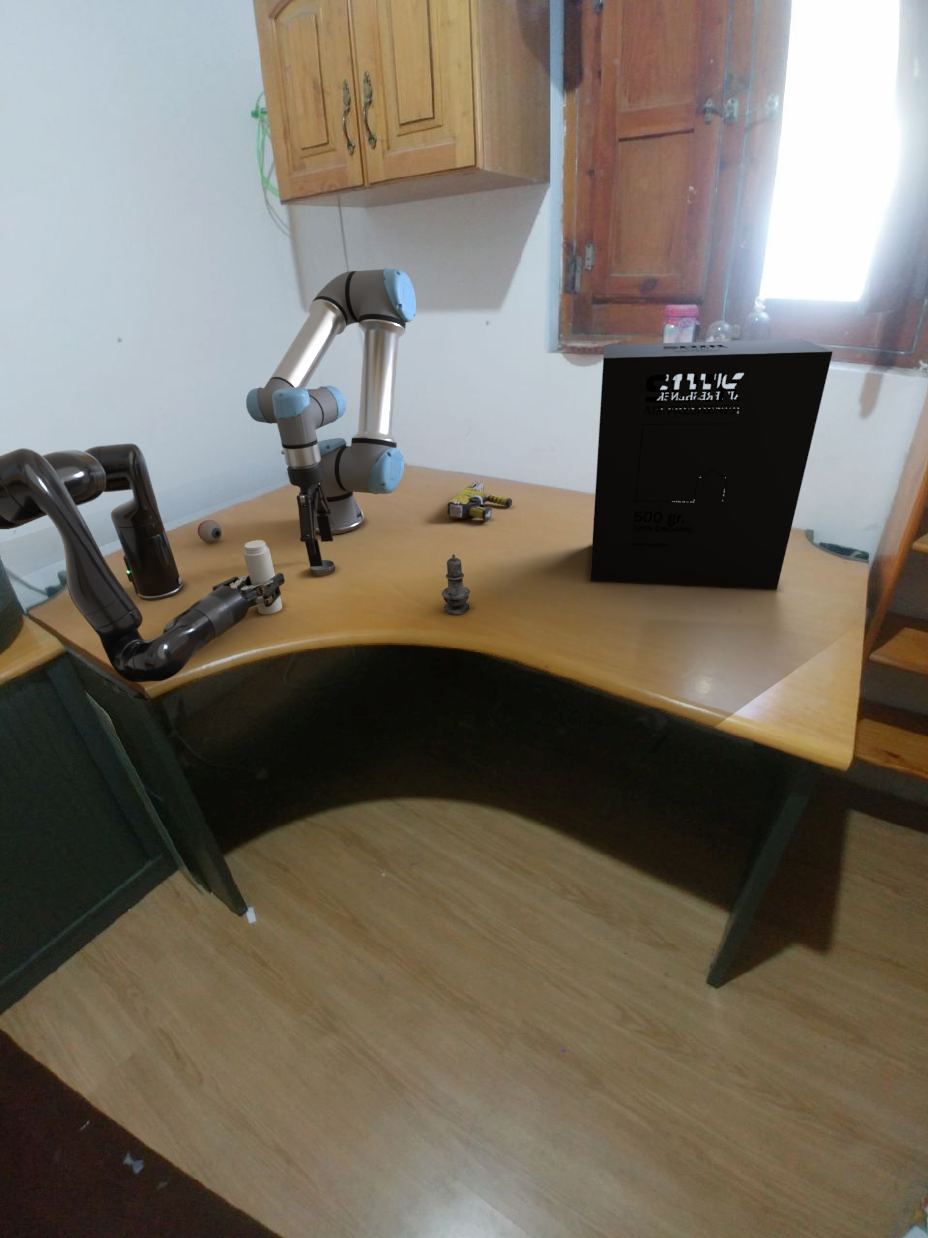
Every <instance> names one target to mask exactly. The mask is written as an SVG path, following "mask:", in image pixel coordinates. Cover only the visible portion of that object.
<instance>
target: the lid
mask: <svg viewBox="0 0 928 1238" xmlns="http://www.w3.org/2000/svg"><path fill="white" fill-rule="evenodd" d="M322 563H323V566H315V567H310V566H309V573H310V574H311V575H312V576H313V577H326V576H330V575H331V574H333V573H334V572H335V571H336V566H335V562H334V561H332V560H329V559H322Z"/></svg>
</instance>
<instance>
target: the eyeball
mask: <svg viewBox="0 0 928 1238" xmlns="http://www.w3.org/2000/svg"><path fill="white" fill-rule="evenodd" d="M222 534H223V529H222V527H221V525H220V524H219V523H218V522H217V521H215V520H212V519H207V520H204V521H202V522H201V523H200V524H199V525H198V527H197V535H198V538H199V539H201V540H202V541H203V542H205V543H208V544H213V543H216V542H218V541H219V540H220V539H221V538H222Z"/></svg>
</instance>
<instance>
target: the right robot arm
mask: <svg viewBox="0 0 928 1238" xmlns="http://www.w3.org/2000/svg"><path fill="white" fill-rule="evenodd" d="M412 283H413V282H412V281H411V279H410V277H409V275H408V274H407V273H406V272H405V271H404V270H402V269H399V268H387V267H386V268H383V269H382V268H381V269H365V270H349V271H345V272H342V273H341V274H338V275H337V276H335V277H334V278H332V279H331V280H330V281H329V282H328V283H327V284H325V286H323V288H322V289H321V290H320V291H319V292H318V293H317V295H315V297H314V299H313V300H312V302H311V303H310V305H309V308H308V313H309V315H308V317H306V320H305V321H304V323H303V324H302V326H301V328H300V329H299V331H298V332H297V334H296V336H295V338H294V339H293V341H292V342H291V344H290V345H289V347H288V349H287V350H286V352H285V354H284V355H283V357H282V358H281V360H280V362H279V363H278V365H276V368H275V370H274V371H273V373H272V375H271V376H270V378H269V379H268V381H267V382H266V384H265V386H264V387H262V386H261V387H258V388H257V387H256V388H252V389H251V390H249V392H248V394H247V395H246V399H245V406H246V407H245V408H246V410H247V413H248V414H249V416H250V417H251V419H252V420H253V421H255V422H258V423H264V424H269V425H270V424H271V425H272V424H276V426H277V429H278V433H279V437H280V443H281V447H282V448H281V449H282V450H281V451H280V453H281V455H283V456H284V461H285V464H286V465H287V467H286V471H287V476H288V481H289V483H290V484H291V485H292V486H294V487H298V488H299V492H298V494H297V495H296V500H297V501H296V503H297V508H298V517H299V518H298V519H299V531H300V538H299V541H300V542H301V543H304V544H305V548H306V549H305V550H306V553H307V558H308V563H309V568H310V567H315V566H323V563H322V560H323V558H322V554H321V548H320V543H319V538H318V537H317V535H319V537H320V541H321V543H328V542H333V541H334V538H333V535H339V534H340V535H341V534H345V533H350V532H353V531H355V530H357V529H359V528H361V527H362V526H363V525H364V523H365V519H364V518H365V517H364V512H363V511H364V510H363V509H362V508H360V505H359V504H358V501H357V500H356V498H355V495H354V493H363V494H372V495H388V494H391V493H393V492H394V491H396V490H397V488H398V487H399V485H400V483H401V481H402V479H403V476H404V470H405V460H404V455H403V453H402V451H401V450H400V449H398V448H397V446H398V445H397V444H398V442H397V441H396V440H395V438H394V437H393V435H392V433H393V423H394V422H393V419H394V407H395V393H396V392H395V391H396V380H397V378H396V377H397V368H398V367H397V365H398V353H399V352H398V351H399V339H400V338H401V337H402V336H403V335H404V334H405V333H406V326H407V323H411V322H412V321H413V320H414V319H415V317H416V314H417V299H416V293H415V289H414V286H413V284H412ZM352 324H358V327H359V329H360V330H361V331H362V332H363V348H362V361H361V362H362V363H361V380H360V382H361V383H360V394H359V411H358V425H357V432H356V433H355V434H354V435H353V436H351V443H350V445H347V441H346V439H345V438H342V437H335V438H328V439H323V440H320V441H318V438H317V431H316V430H319V429H320V428H323V427H325V426H327V425H329V424H332V423H334V422H336V421H337V420H339V419H340V418H342V417H343V416H344V415H345V412H346V408H347V403H346V398H345V396H344V393H342V392H341V390H340V389H338V388H337V387H335V386H333V385H323V386H319V387H318V388H306V387H307V385H308V384H309V382H310V381H311V379H312V377H313V376H314V374H315V372H316V371H317V369H318V367H319V365H320V364H321V362H322V360H323V358H324V357H325V355H326V353H327V351H328V350H329V348H330V346H331V345H332V344H333V341H334V340H335V338H336V337H337V336H338V335H341V334H342V333H343V332H344V331H345V329H346V328H347V327H348V326H349V325H352Z"/></svg>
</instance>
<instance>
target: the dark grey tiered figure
mask: <svg viewBox="0 0 928 1238" xmlns="http://www.w3.org/2000/svg"><path fill="white" fill-rule="evenodd" d="M462 567H463V566H462V561H461V559H460V558H458V557H456V555H455V554H454V553H452V555H451V557H450V558H449V559H448V560H447V561H446V569H447V570H446V574H445V578H446V579H447V587H446V588H444V589H443V590H442V591H441V596H442V598H443V600H444V602H445V603H446V604H445V605H444V607H443V608H444V611H445V612H446V613H448V614H452V615H461V614H464V613H466V612H468V611H469V610H470V608H471V606H470V604H469V603H468V600H469V598H470V595H471V590H470V589H469V588H468V587H466V586H464V579H463V578H464V577H465V574H464V573H463V568H462Z"/></svg>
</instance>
